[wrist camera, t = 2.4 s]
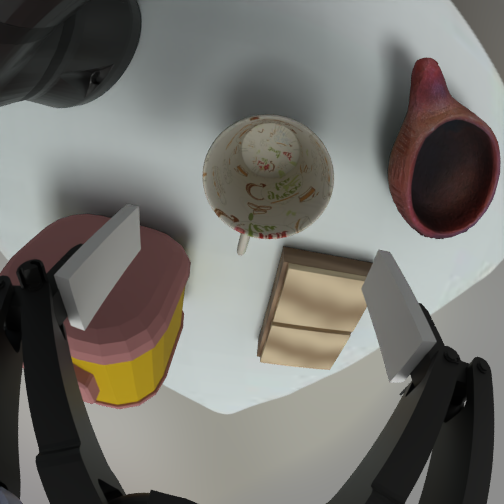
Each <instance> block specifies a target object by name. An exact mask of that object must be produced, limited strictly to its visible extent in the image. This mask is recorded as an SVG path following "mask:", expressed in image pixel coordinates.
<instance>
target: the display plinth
mask: <svg viewBox="0 0 504 504" xmlns="http://www.w3.org/2000/svg"><path fill="white" fill-rule="evenodd" d="M372 264H373V263H370V262H364V261H359V260H354V259H349V258H343V257H338V256H333V255H327V254H322V253H317V252H311V251H306V250H300V249H295V248H290V247H284V246H283V250H282V254H281V258H280V262H279V266H278V269H277V273H276V277H275V281H274V285H273V288H272V292H271V296H270V299H269V303H268V307H267V311H266V314H265V318H264V321H263V325H262V329H261V332H260V336H259V339H258V349H257V356H259V357H260V362H262V363H269V364H277V365H285V366H294V367H303V368H314V369H326V370H330V368H331V367H332V365H333V364H334V362H335V361H336V359H337V357H338V356H339V354H340V352H341V351H342V349H343V348H344V346H345V344H346V343H347V341H348V339H349V337H350V336H351V335H350V334H351V332H353V331H354V329H355V327H356V325H357V323H358V322H359V320H360V318H361V316H362V314H363V313H364V311H365V309H366V307H367V304H366V301H365V298H364V295H363V293H362V290H361V288H362V286H363V284H364V282H365V279H366V277H367V275H368V273H369V271H370V268H371V266H372Z"/></svg>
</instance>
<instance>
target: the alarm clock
mask: <svg viewBox="0 0 504 504" xmlns="http://www.w3.org/2000/svg"><path fill="white" fill-rule="evenodd" d="M110 219H111V218H109V217H105V216H101V215H93V214H79V215H72V216H68V217H65V218H62V219H59V220H57V221H55V222H54V223H52V224H50V225H49V226H47V227H46V228H45V229H43V230H42V231H41V232H40V233H39V234H37V235H36V236H35V237H34V238H33V239H32V240H30V241H29V242H28V243H27V244H26V245H25V246H24V247H23V248H21V249H20V250H19V251H18V252H17V253H16V254H15V255H14V256H13V257H12V258H11V259H10V260H9V262H8V263H7V264H6V266H5V267H4V268H3V270H2V271H1V273H0V276H2V275H4V276H8V277H10V280H11V283H12V285H18V286H21V285H20V283H19V280H18V277H17V274H16V271H17V268H18V267H19V266H20V265H21V264H23V263H24V262H26V261H28V260H33V259H37V260H41V261H42V262H43V264H44V267H45V271H46V273H47V272H48V271H49V270H50V269H51V268H52V267H53V266H54V265H55V264H56V263H57V262H58V261H60V259H61V258H62V257H63V256H65V254H66V253H67V252H68V251H69V250H70V249H71V248H72V247H74V246H76V245H78V244H80V243H81V244H84V243H85V242H86V241H87V240H88V239H89V238H90V237H92V236H93V235H94V234H95V233H96V232H97V231H98V230H99V229H100V228H101V227H102V226H103V225H104V224H105V223H106V222H107V221H109V220H110ZM140 243H141V250H140V251H139V252H138V254H137V255H136V256H135V258H134V259H133V260H132V262H131V263H130V265H129V266H128V267H127V269H126V270H125V271H124V273H123V274H122V276H121V277H120V278H119V280H118V281H117V283H116V284H115V286H114V287H113V289H112V290H111V291H110V293H109V294H108V296H107V297H106V299H105V300H104V302H103V303H102V305H101V306H100V308H99V309H98V311H97V312H96V314H95V315H94V317H93V318H92V320H91V322H90V323H89V325H88V326H87V328H86V329H85V331H84V330H81V329H79V328H76V327H73V326H71V324H70V322H69V319H68V316H67V318H66V319H65V320H64V322H63V323H64V325H65V329H66V334H67V339H68V344H69V349H70V354H71V358H72V362H73V366H74V370H75V374H76V378H77V382H78V385H79V389H80V392H81V395H82V399H83V401H84V402H87V403H90V404H93V403H96V404H98V405H102V406H107V407H111V408H116V409H123V408H128V407H133V406H139V405H141V404H142V403H144V402H145V401H147V400H148V399H150V398H151V397H153V396H154V395H156V393H157V392H158V390H159V388H160V387H161V385H162V383H163V382H164V380H165V378H166V376H167V373H168V370H169V367H170V364H171V361H172V358H173V355H174V352H175V349H176V346H177V343H178V340H179V337H180V334H181V331H182V329H183V320H184V313H183V310H182V308H183V299H184V291H185V285H186V282H187V280H188V278H189V274H190V264H191V262H190V260H189V258H188V256H187V254H186V252H185V250H184V248H183V246H181V245H180V244H179V243H178V242H176V241H175V240H174V239H172V238H171V237H170V236H169V235H167V234H165V233H163V232H160V231H157V230H155V229H152V228H148V227H145V226H141V225H140ZM22 368H24V365H23V367H22Z"/></svg>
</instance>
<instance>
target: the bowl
mask: <svg viewBox="0 0 504 504" xmlns="http://www.w3.org/2000/svg"><path fill="white" fill-rule="evenodd" d="M499 175H500V150H499V145H498V141H497V139H496V137H495V135H494V133H493V131H492V130H491V128H490V127H489V126H488V125H487V124H486V123H485V122H484V121H483V120H482V119H480V118H479V117H478V116H477V115H475V114H474V113H473V112H471V111H470V110H469V109H467V108H466V107H464V106H463V105H461V104H460V103H459V102H458V101H456V100H455V99H454V98H453V97H452V96H451V95H450V93H449V91H448V88H447V85H446V82H445V79H444V76H443V74H442V71H441V69H440V67H439V66H438V63H437V61H435V60H434V59H432V58H422V59H419V60H417V61H416V63H415V65H414V68H413V70H412V75H411V88H410V98H409V106H408V111H407V114H406V117H405V119H404V122H403V124H402V126H401V129H400V131H399V133H398V136H397V138H396V141H395V143H394V145H393V148H392V151H391V154H390V159H389V165H388V182H389V189H390V192H391V195H392V198H393V201H394V203H395V204H396V207H397V209H398V211H399V212H400V214H401V215H402V217H403V218H404V219H405V220H406V222H407V223H408V224H409V225H410V226H411V227H412V228H413V229H415V230H416V231H417V232H418V233H419V234H420V235H422V236H423V235H424V237H430V238H436V239H441V238H442V239H444V238H449V237H453V236H456V235H458V234H461V233H463V232H466V231H467V230H468V229H469V228H471V227H472V226H474V225H475V224H476V223H477V222H478V220H479V219H480V218H481V217H482V216H483V214H484V213H485V212H486V211H487V209H488V207H489V205H490V203H491V202H492V200H493V197H494V194H495V191H496V188H497V184H498V180H499Z"/></svg>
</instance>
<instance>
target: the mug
mask: <svg viewBox="0 0 504 504" xmlns="http://www.w3.org/2000/svg"><path fill="white" fill-rule="evenodd" d="M333 185H334V171H333V165H332V161H331V158H330V155H329V153H328V151H327V149H326V147H325V146H324V144H323V143H322V141H321V140H320V139H319V138H318V136H317V135H316V134H315V133H314V132H313V131H311V130H310V129H309V128H308V127H306V126H305V125H303V124H301V123H300V122H298V121H296V120H293V119H291V118H288V117H284V116H279V115H270V114H265V115H256V116H251V117H248V118H244V119H242V120H240V121H237V122H236V123H234V124H232V125H231V126H229V127H228V128H226V129H225V130H224V131H223V132H222V133H221V134H220V135H219V136H218V137H217V138H216V139H215V141H214V142H213V143H212V145H211V147H210V149H209V151H208V153H207V155H206V158H205V162H204V166H203V186H204V191H205V194H206V197H207V200H208V202H209V204H210V206H211V207H212V209H213V210H214V212H215V213H216V214H217V216H218V217H219V218H220V219H221V220H222V221H223V222H224V223H226V224H227V225H228V226H229V227H231V228H233V229H234V230H236V231H238V232H240V233H241V235H240V239H239V243H238V247H237V253H238V255H243V254H244V253H245V251H246V248H247V245H248V242H249V238H250V236H251V237H255V238H261V239H278V238H284V237H288V236H291V235H294V234H296V233H299V232H301V231H303V230H304V229H306V228H307V227H309V226H310V225H311V224H313V223H314V222H315V221H316V220H317V219H318V218H319V217H320V215H321V214H322V213H323V211H324V210H325V208H326V207H327V205H328V203H329V200H330V198H331V195H332V191H333Z"/></svg>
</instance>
